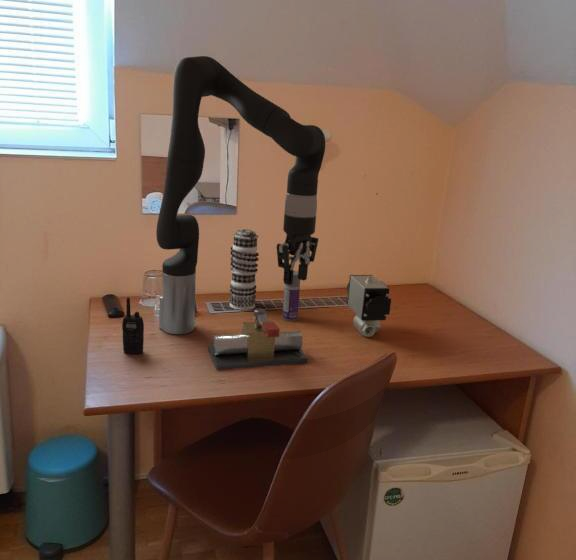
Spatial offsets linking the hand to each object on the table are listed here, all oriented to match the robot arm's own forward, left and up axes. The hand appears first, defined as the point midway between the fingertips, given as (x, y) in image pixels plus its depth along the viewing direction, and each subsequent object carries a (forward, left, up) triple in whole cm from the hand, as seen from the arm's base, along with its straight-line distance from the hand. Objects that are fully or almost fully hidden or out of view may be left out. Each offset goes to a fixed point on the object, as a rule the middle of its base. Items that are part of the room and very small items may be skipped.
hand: (295, 281), depth 143 cm
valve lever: (-6, -2, -12) cm, 14 cm away
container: (-14, +33, -24) cm, 43 cm away
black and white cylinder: (-32, +35, -24) cm, 53 cm away
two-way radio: (-39, -12, -24) cm, 47 cm away
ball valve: (+10, +35, -24) cm, 44 cm away
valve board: (-10, +2, -23) cm, 26 cm away
